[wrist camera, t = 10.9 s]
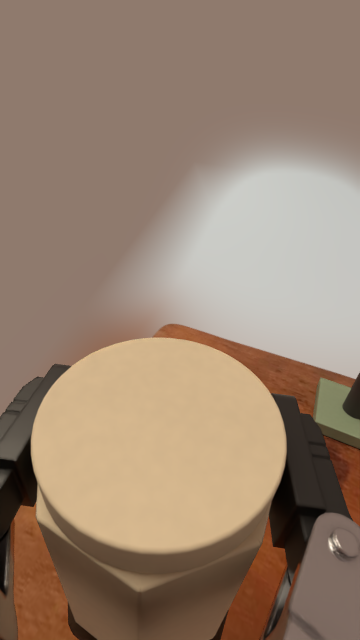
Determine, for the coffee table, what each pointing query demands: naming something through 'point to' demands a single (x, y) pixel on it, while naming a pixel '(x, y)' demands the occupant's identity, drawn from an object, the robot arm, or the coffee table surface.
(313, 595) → the robot arm
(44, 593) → the coffee table surface
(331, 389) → the green square peg base
